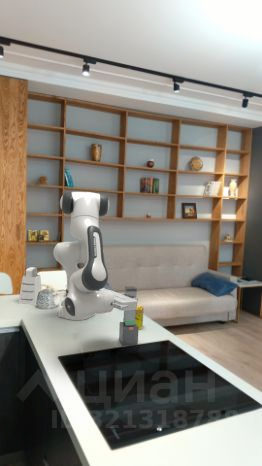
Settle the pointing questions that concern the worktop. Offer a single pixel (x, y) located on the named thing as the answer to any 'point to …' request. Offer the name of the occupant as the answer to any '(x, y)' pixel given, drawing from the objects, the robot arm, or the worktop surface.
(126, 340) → the base
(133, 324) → the jack column
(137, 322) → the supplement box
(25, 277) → the grater
